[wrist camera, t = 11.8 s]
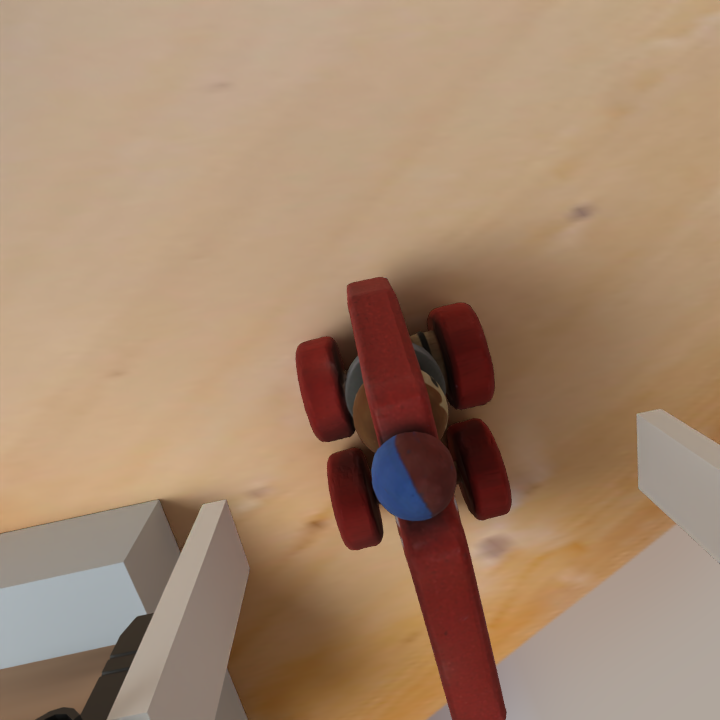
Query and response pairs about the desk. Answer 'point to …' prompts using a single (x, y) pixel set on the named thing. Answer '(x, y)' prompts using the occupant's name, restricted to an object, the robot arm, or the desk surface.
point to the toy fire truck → (416, 465)
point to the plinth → (87, 585)
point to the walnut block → (50, 684)
